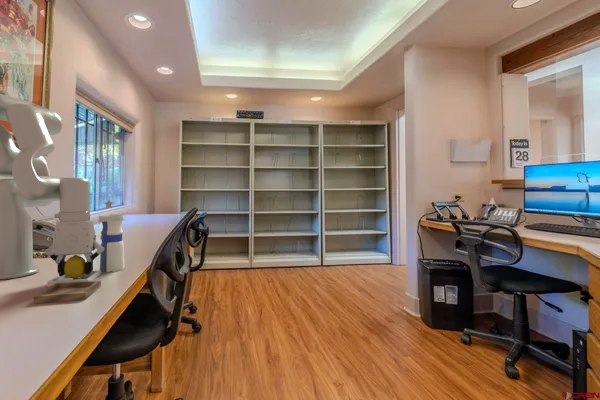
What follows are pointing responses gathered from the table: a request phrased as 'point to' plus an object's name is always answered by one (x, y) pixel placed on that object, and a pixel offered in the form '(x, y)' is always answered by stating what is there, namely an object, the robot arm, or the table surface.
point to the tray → (67, 291)
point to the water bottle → (111, 242)
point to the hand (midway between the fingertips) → (75, 273)
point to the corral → (57, 280)
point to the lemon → (75, 267)
